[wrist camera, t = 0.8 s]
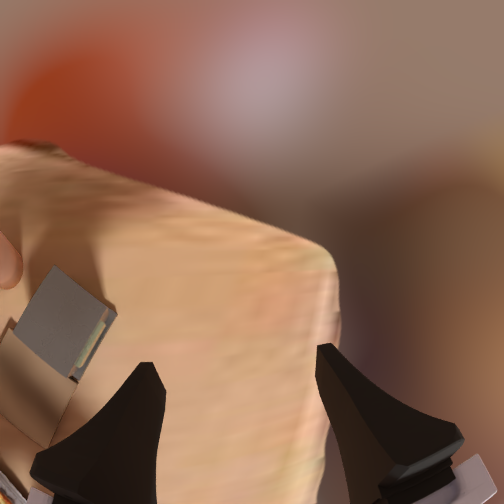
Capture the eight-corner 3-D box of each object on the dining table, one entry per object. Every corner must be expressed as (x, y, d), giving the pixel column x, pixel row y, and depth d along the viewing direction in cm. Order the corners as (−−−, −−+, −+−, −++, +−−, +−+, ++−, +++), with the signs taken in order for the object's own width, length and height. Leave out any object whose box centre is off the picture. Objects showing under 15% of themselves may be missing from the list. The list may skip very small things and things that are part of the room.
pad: (48, 446, 14) (46, 449, 13) (-17, 392, 12) (-21, 393, 11) (78, 383, 18) (77, 384, 17) (12, 328, 16) (9, 327, 15)
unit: (80, 379, 18) (69, 389, 13) (29, 339, 17) (4, 334, 12) (117, 315, 22) (117, 304, 17) (67, 276, 21) (54, 253, 15)
